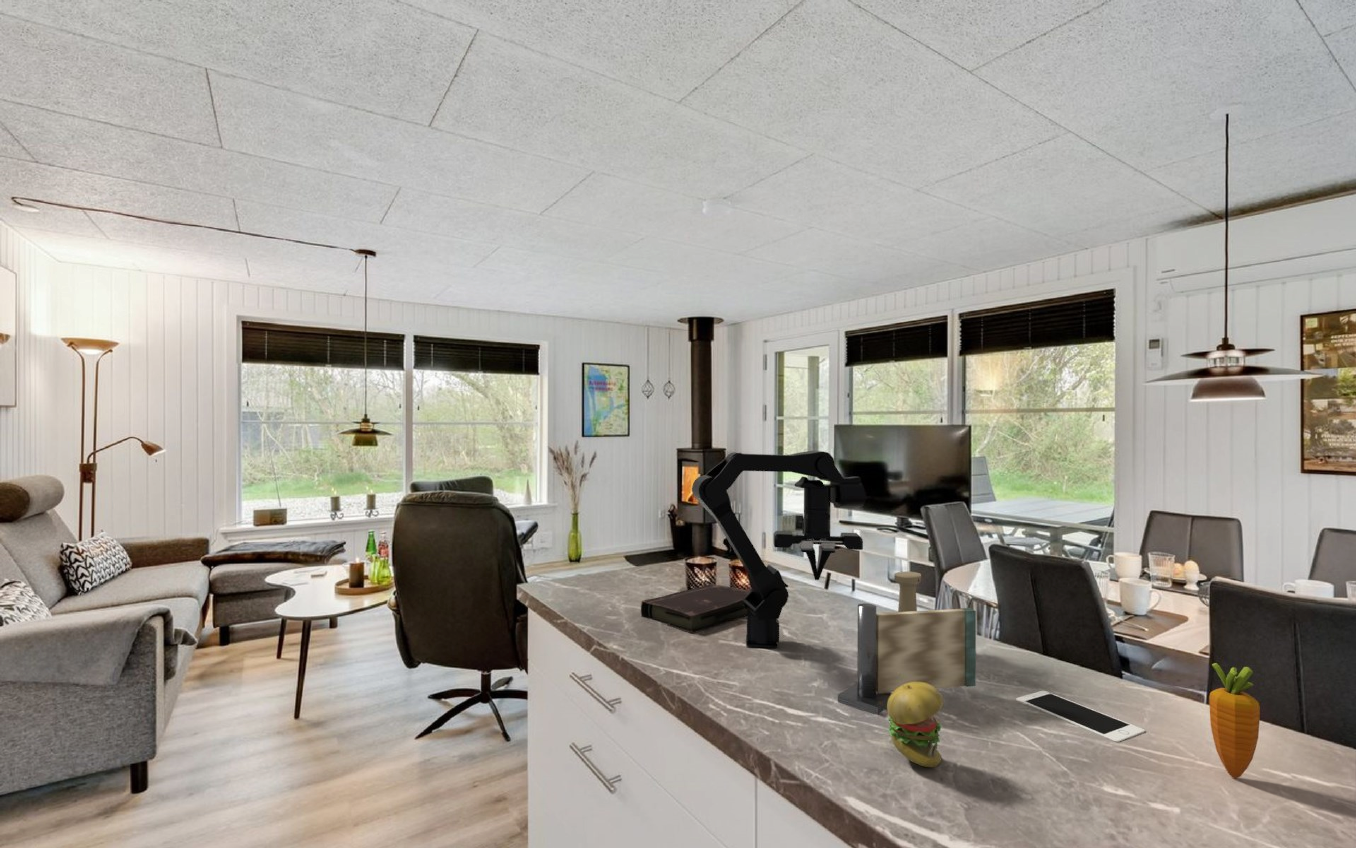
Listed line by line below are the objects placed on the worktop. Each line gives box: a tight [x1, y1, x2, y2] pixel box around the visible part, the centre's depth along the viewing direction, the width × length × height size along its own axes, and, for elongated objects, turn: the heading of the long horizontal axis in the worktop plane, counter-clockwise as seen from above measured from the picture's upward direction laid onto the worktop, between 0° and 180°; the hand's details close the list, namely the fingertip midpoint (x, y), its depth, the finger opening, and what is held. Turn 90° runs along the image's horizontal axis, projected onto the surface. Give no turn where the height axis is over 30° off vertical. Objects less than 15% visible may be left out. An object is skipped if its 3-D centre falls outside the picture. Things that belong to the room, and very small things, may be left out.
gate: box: [876, 607, 977, 693], centre depth 106 cm, size 18×2×13 cm, turn 101°
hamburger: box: [886, 673, 944, 768], centre depth 85 cm, size 8×7×12 cm
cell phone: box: [1015, 690, 1146, 743], centre depth 99 cm, size 8×16×1 cm, turn 27°
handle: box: [893, 571, 922, 612], centre depth 131 cm, size 5×6×15 cm
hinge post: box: [837, 602, 892, 715], centre depth 104 cm, size 7×7×16 cm
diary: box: [640, 583, 752, 634], centre depth 152 cm, size 19×25×5 cm
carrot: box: [1208, 662, 1261, 780], centre depth 81 cm, size 5×5×15 cm
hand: (816, 579), depth 135 cm, fingers closed
